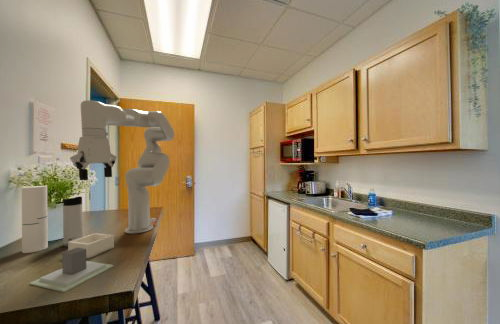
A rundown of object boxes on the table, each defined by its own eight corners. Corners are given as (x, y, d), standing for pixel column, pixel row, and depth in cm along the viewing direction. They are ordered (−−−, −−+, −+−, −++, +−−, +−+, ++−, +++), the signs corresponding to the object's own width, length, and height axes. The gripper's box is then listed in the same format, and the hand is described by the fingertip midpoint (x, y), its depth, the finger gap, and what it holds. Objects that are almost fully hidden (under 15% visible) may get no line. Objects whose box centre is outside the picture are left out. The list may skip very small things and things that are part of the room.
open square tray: (95, 245, 86) (95, 233, 86) (114, 247, 83) (113, 235, 83) (68, 255, 76) (68, 242, 76) (88, 258, 73) (88, 244, 73)
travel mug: (72, 247, 84) (71, 198, 84) (59, 246, 85) (58, 197, 85) (87, 241, 90) (86, 195, 90) (74, 240, 91) (74, 195, 92)
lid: (81, 262, 70) (80, 242, 70) (105, 266, 66) (105, 245, 66) (39, 280, 59) (39, 256, 59) (66, 286, 56) (66, 261, 56)
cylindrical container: (52, 246, 85) (51, 185, 85) (28, 254, 78) (28, 187, 78) (41, 244, 87) (40, 185, 87) (17, 251, 80) (17, 187, 81)
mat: (82, 261, 71) (82, 260, 71) (113, 266, 67) (113, 265, 67) (29, 284, 58) (29, 282, 58) (64, 292, 54) (64, 290, 54)
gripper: (107, 136, 89) (109, 176, 89) (61, 132, 72) (64, 181, 73) (121, 135, 87) (123, 176, 87) (78, 131, 70) (80, 181, 71)
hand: (96, 178), depth 80 cm, fingers open, 9 cm apart
